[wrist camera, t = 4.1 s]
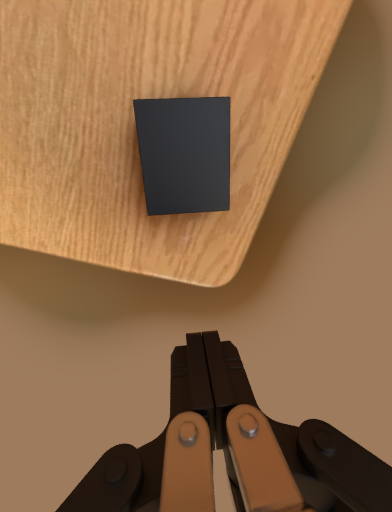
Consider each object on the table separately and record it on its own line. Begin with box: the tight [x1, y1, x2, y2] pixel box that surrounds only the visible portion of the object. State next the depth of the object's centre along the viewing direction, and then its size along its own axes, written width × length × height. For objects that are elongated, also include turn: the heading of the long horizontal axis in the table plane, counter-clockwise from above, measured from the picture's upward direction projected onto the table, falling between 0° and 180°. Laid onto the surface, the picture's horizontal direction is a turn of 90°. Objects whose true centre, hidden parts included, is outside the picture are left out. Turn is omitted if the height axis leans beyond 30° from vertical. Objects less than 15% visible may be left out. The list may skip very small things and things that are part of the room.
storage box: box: [133, 97, 230, 216], centre depth 16 cm, size 7×6×4 cm
